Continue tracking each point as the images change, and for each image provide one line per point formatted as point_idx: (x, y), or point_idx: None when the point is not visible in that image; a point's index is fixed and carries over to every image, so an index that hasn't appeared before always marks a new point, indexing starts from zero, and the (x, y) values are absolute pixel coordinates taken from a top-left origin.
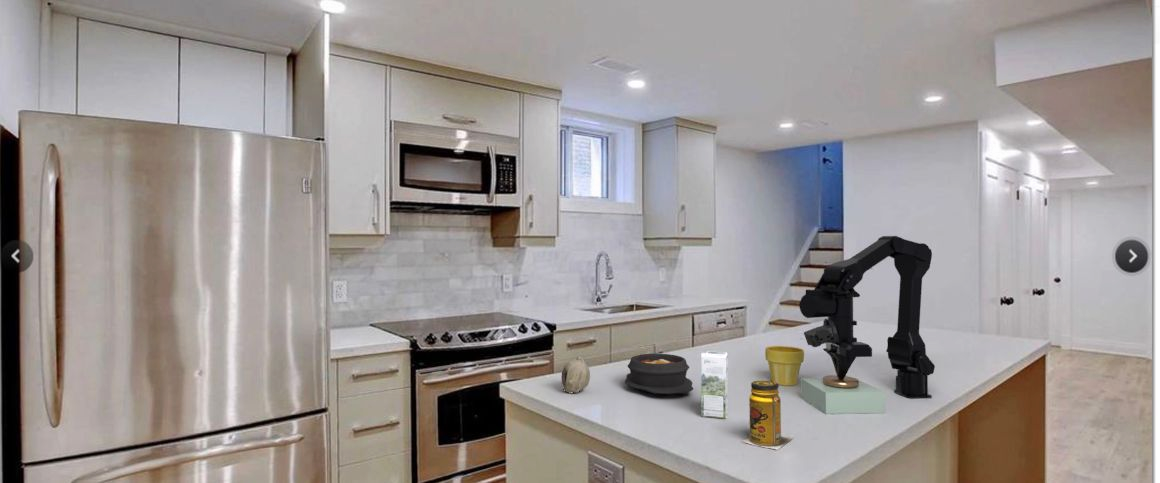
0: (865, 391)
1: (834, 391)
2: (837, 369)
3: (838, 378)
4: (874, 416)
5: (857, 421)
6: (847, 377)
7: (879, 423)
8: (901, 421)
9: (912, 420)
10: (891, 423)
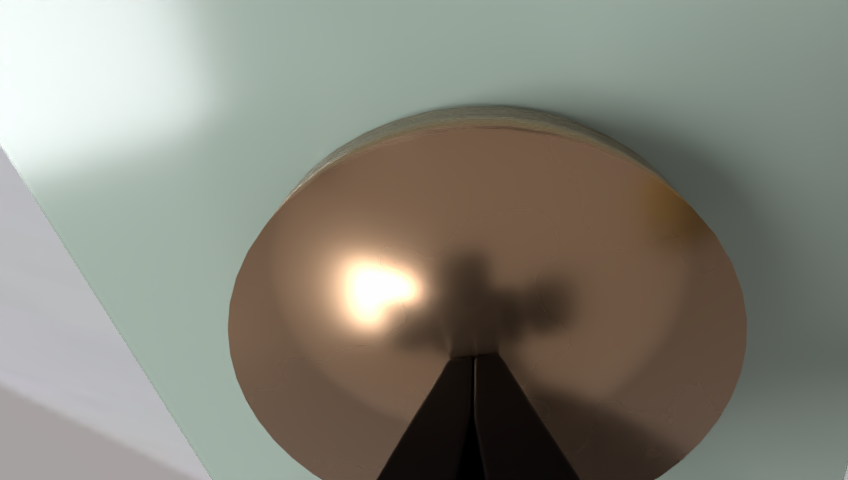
0: (210, 447)
1: (55, 147)
2: (439, 477)
3: (476, 357)
4: None
5: (19, 196)
6: (586, 469)
7: (48, 316)
8: (155, 429)
9: (200, 476)
10: (86, 374)
